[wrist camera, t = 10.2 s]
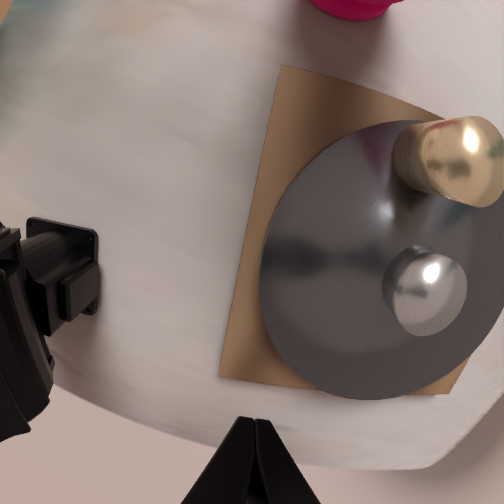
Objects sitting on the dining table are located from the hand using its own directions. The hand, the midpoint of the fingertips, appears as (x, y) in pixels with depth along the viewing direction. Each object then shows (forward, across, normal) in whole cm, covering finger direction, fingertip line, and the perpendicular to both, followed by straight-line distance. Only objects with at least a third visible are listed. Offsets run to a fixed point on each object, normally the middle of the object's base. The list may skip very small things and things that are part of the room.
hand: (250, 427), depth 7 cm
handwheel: (+11, -9, -2) cm, 15 cm away
